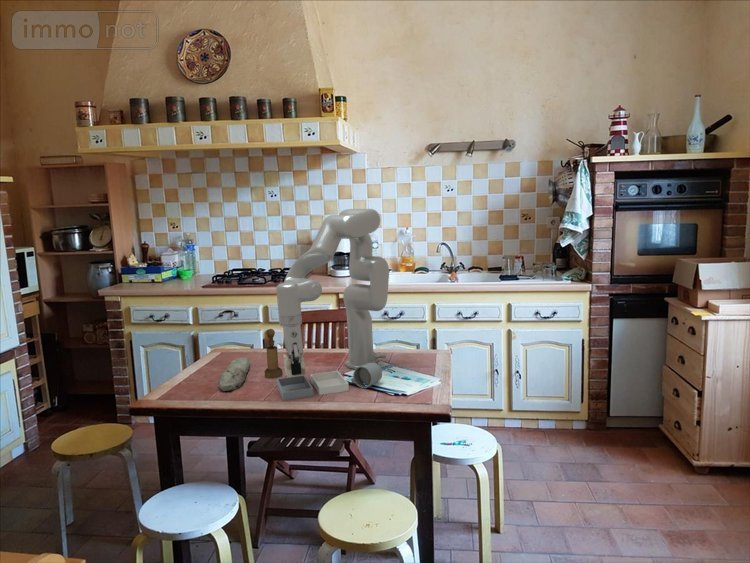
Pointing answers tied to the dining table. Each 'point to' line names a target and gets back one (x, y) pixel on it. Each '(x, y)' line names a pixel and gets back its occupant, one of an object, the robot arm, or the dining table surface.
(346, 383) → the tray
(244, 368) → the long grey stone
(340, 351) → the dining table surface
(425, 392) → the dining table surface
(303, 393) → the tray
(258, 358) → the dining table surface
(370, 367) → the ceramic mug
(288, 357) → the letter cube
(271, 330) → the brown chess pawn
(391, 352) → the dining table surface
